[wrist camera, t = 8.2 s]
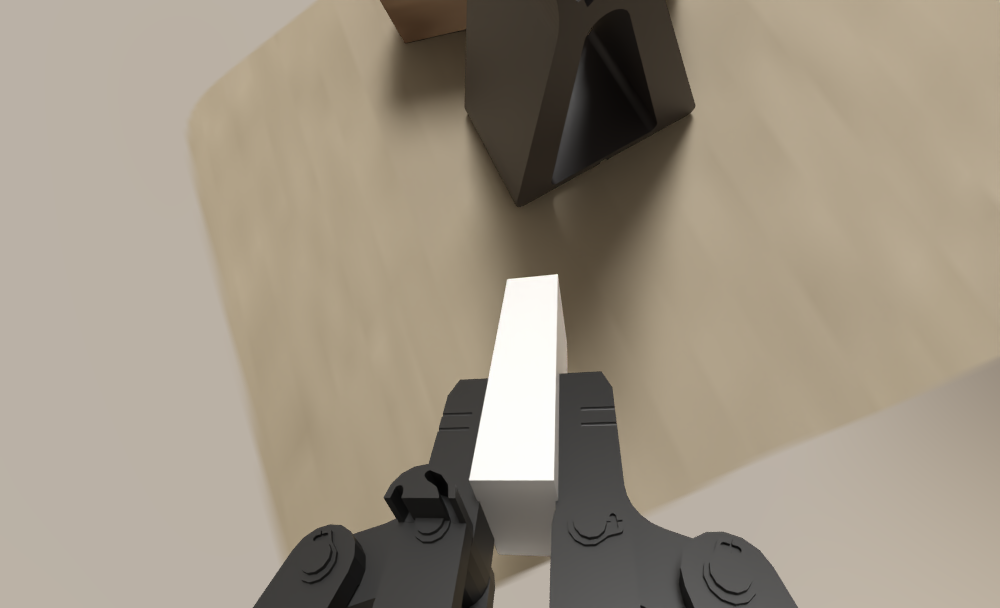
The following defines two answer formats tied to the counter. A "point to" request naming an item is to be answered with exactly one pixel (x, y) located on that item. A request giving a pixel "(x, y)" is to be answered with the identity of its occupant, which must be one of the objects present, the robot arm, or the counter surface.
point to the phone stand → (569, 84)
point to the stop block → (426, 17)
